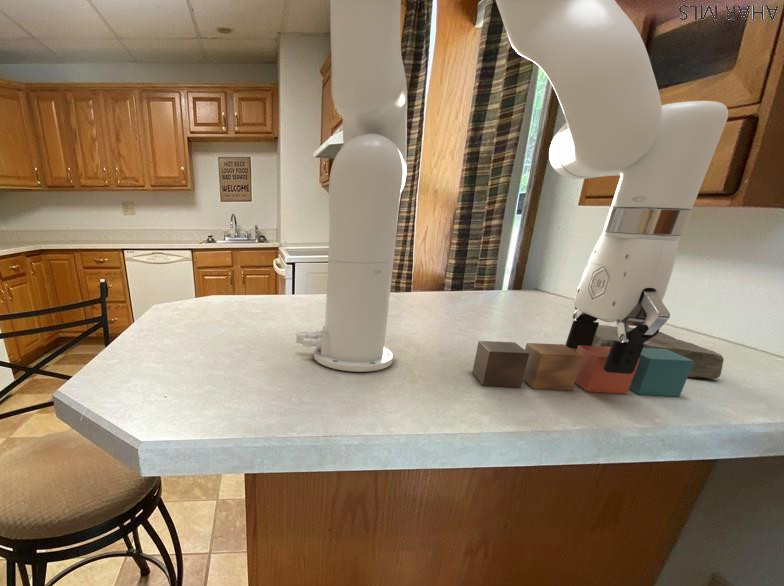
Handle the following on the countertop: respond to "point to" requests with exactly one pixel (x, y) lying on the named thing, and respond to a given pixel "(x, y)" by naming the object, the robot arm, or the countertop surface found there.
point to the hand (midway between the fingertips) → (595, 359)
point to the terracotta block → (600, 372)
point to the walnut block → (500, 364)
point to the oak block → (551, 366)
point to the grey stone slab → (704, 359)
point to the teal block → (660, 373)
